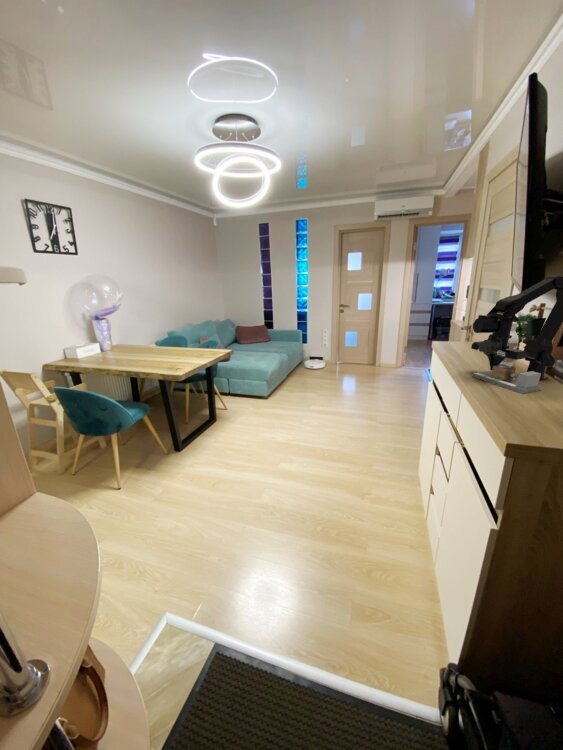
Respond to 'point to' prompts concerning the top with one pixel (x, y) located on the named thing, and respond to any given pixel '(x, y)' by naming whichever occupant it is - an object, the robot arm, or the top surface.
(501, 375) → the gauge carriage
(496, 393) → the top surface
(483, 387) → the top surface
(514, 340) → the bath foam
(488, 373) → the gauge rail
